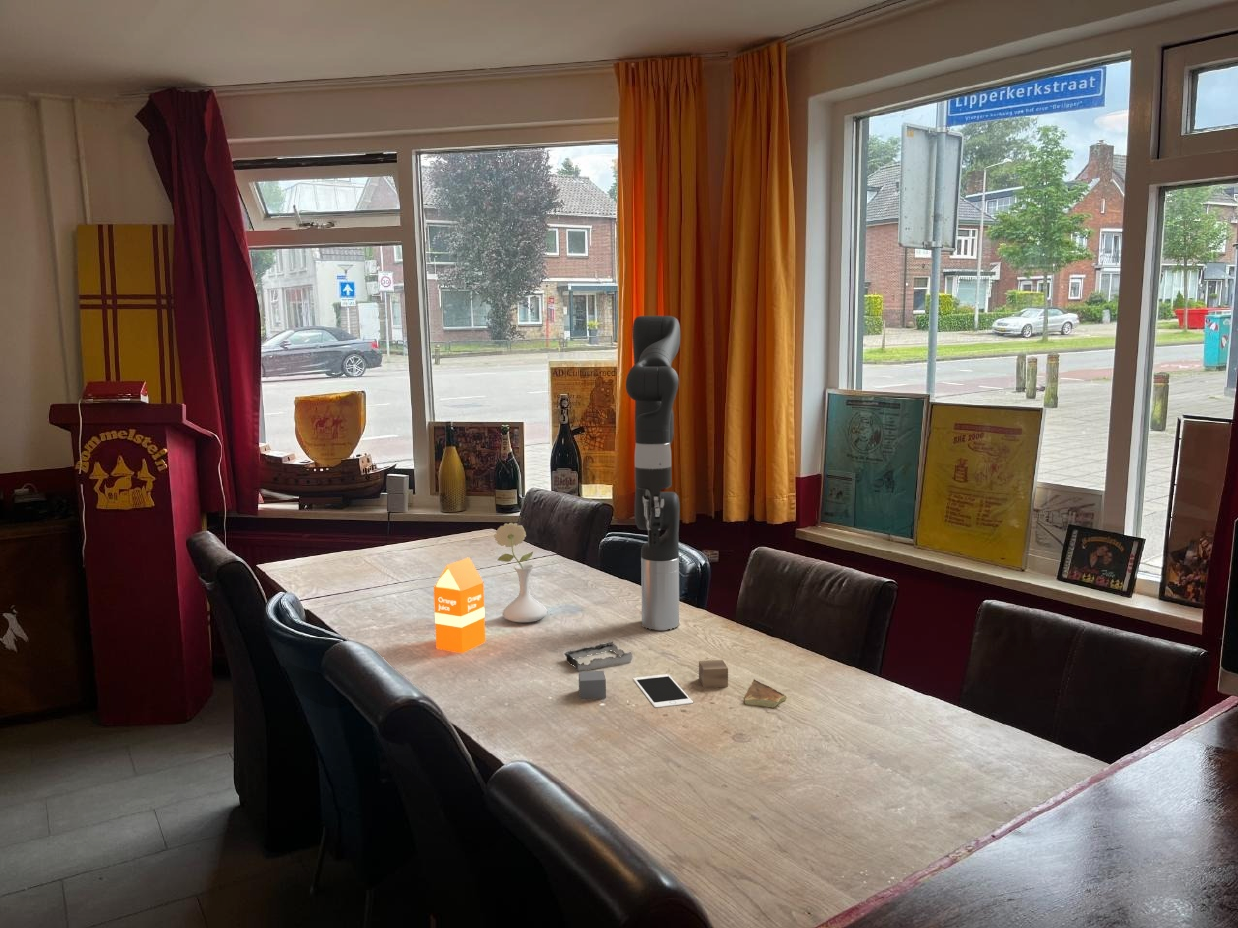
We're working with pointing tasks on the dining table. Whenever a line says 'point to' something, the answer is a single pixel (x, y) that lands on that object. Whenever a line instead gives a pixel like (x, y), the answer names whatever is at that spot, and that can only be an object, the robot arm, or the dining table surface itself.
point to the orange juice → (459, 608)
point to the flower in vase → (524, 604)
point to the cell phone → (662, 691)
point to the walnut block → (713, 673)
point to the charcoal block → (592, 685)
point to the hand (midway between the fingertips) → (653, 547)
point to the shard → (763, 695)
